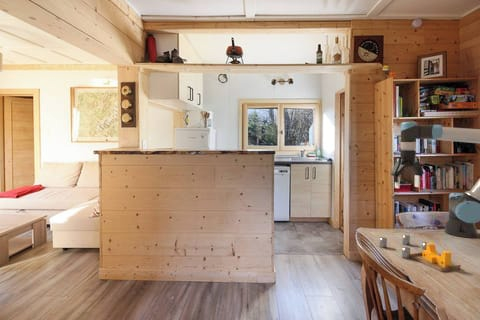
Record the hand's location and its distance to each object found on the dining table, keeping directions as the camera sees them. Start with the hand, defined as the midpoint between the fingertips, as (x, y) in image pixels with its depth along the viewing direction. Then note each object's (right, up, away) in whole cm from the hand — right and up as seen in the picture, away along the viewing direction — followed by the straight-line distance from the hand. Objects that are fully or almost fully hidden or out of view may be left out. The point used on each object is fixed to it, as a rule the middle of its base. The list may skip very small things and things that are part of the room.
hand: (407, 187), depth 170 cm
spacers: (-13, -28, -23) cm, 39 cm away
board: (-10, -29, -38) cm, 49 cm away
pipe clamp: (-9, -29, -39) cm, 49 cm away
